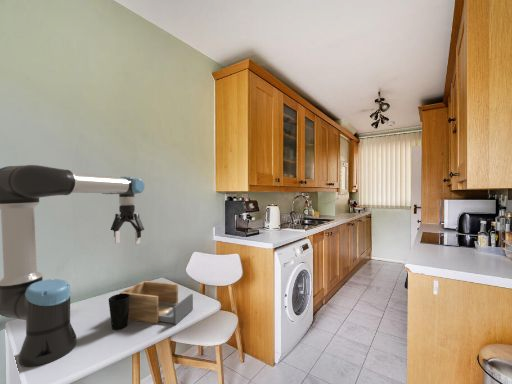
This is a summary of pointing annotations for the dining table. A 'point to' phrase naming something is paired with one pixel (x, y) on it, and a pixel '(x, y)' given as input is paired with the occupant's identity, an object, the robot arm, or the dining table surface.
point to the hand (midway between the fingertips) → (127, 243)
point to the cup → (119, 310)
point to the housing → (150, 300)
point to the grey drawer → (175, 310)
